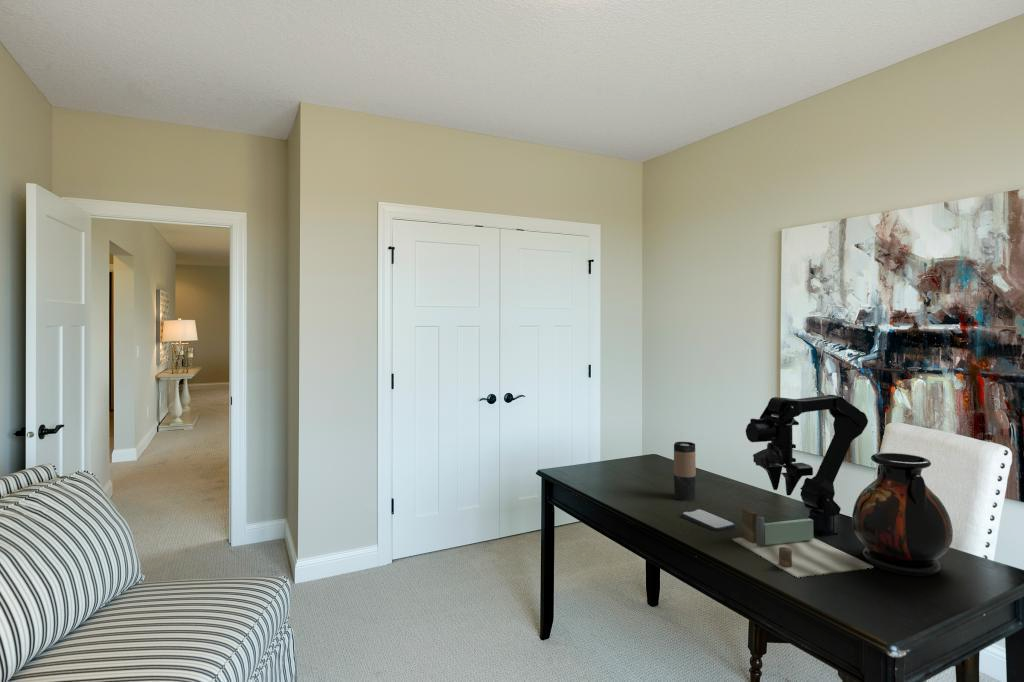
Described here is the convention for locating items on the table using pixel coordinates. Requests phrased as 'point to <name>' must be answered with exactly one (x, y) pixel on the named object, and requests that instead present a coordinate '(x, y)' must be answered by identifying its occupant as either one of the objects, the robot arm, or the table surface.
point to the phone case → (708, 520)
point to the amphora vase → (902, 518)
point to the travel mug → (684, 470)
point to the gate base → (799, 552)
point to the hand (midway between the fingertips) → (781, 492)
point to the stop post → (785, 557)
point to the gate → (783, 531)
